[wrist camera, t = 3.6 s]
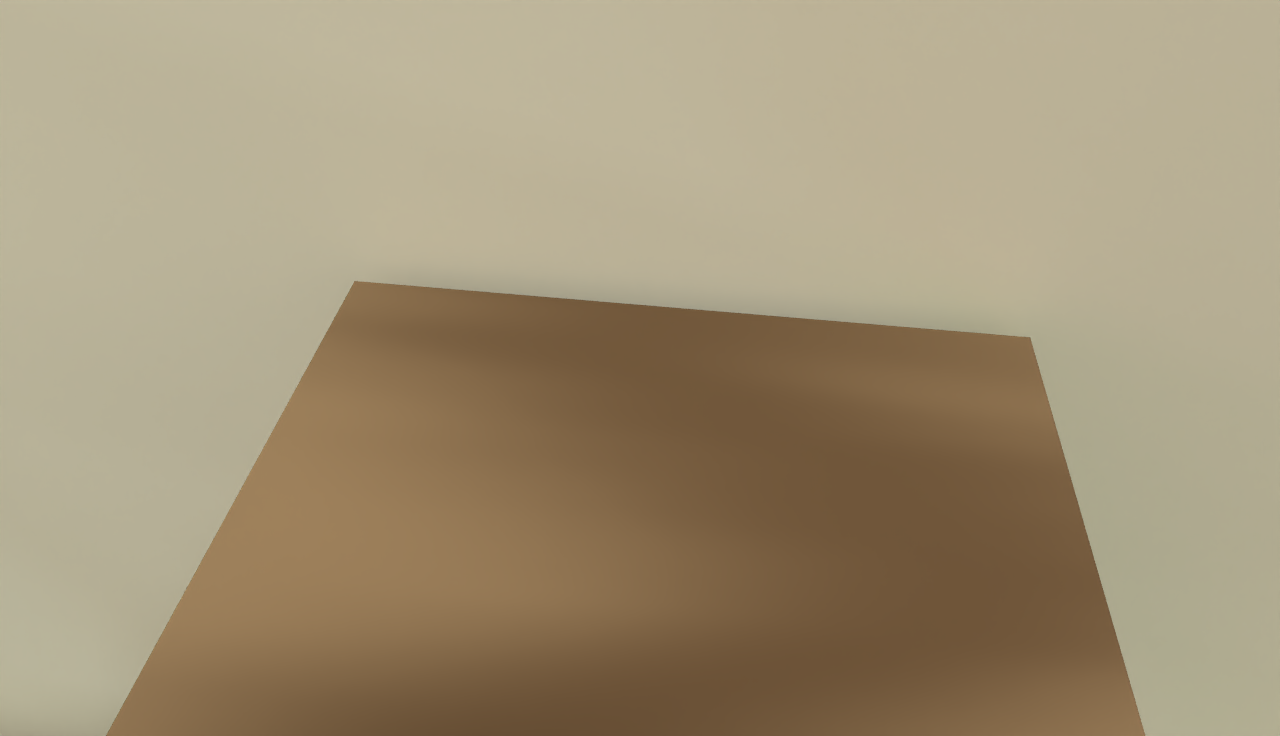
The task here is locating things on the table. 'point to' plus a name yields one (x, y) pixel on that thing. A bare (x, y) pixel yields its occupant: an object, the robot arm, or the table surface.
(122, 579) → the table surface
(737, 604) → the walnut block
